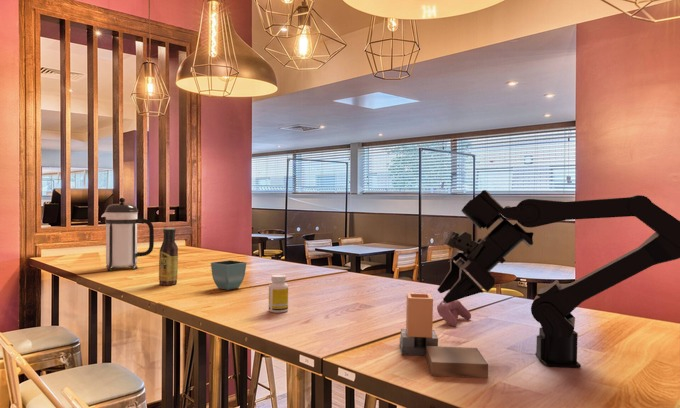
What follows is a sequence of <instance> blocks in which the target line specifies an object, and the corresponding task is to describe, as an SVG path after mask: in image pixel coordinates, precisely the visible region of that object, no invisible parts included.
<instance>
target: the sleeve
mask: <svg viewBox="0 0 680 408" xmlns="http://www.w3.org/2000/svg"><path fill="white" fill-rule="evenodd" d="M433 307H434V298H433V297H432V295H431V293H417V292H413V293H412V292H406V309H405V311H406V315H405V316H406V318H405V321H406V322H405V325H406V326H405V329H406V331H407V335H408V337H432V330H434V329H433V326H434V325H433V324H434V321H433V319H434V318H433V317H434V315H433V313H434V308H433Z"/></svg>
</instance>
